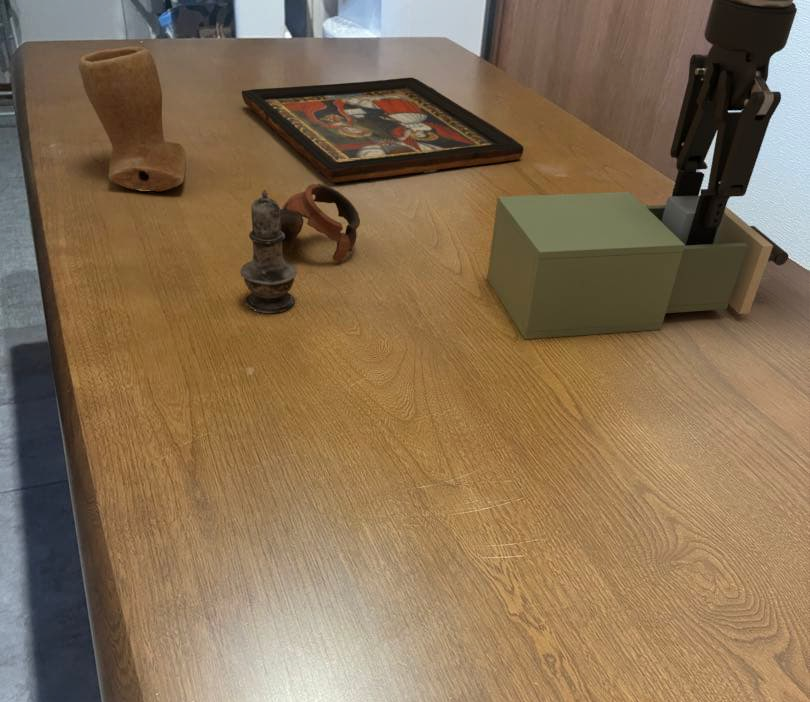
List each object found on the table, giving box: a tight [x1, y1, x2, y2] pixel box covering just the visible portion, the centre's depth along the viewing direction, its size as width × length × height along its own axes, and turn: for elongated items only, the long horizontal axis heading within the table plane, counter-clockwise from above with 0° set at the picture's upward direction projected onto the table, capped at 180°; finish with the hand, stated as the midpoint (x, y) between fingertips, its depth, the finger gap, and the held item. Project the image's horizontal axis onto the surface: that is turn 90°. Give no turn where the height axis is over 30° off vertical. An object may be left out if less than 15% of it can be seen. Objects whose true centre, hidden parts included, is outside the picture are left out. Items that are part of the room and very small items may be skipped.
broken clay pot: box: [280, 183, 361, 263], centre depth 101 cm, size 12×10×8 cm
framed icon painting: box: [241, 77, 524, 183], centre depth 133 cm, size 38×35×3 cm
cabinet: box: [486, 191, 685, 340], centre depth 94 cm, size 16×14×10 cm
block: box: [661, 195, 725, 246], centre depth 94 cm, size 4×4×4 cm
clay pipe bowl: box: [78, 46, 187, 192], centre depth 112 cm, size 15×12×15 cm
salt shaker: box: [239, 189, 298, 314], centre depth 90 cm, size 6×6×12 cm
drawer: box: [644, 204, 789, 315], centre depth 97 cm, size 19×12×8 cm, turn 103°
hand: (685, 242), depth 95 cm, fingers closed on block, 4 cm apart
